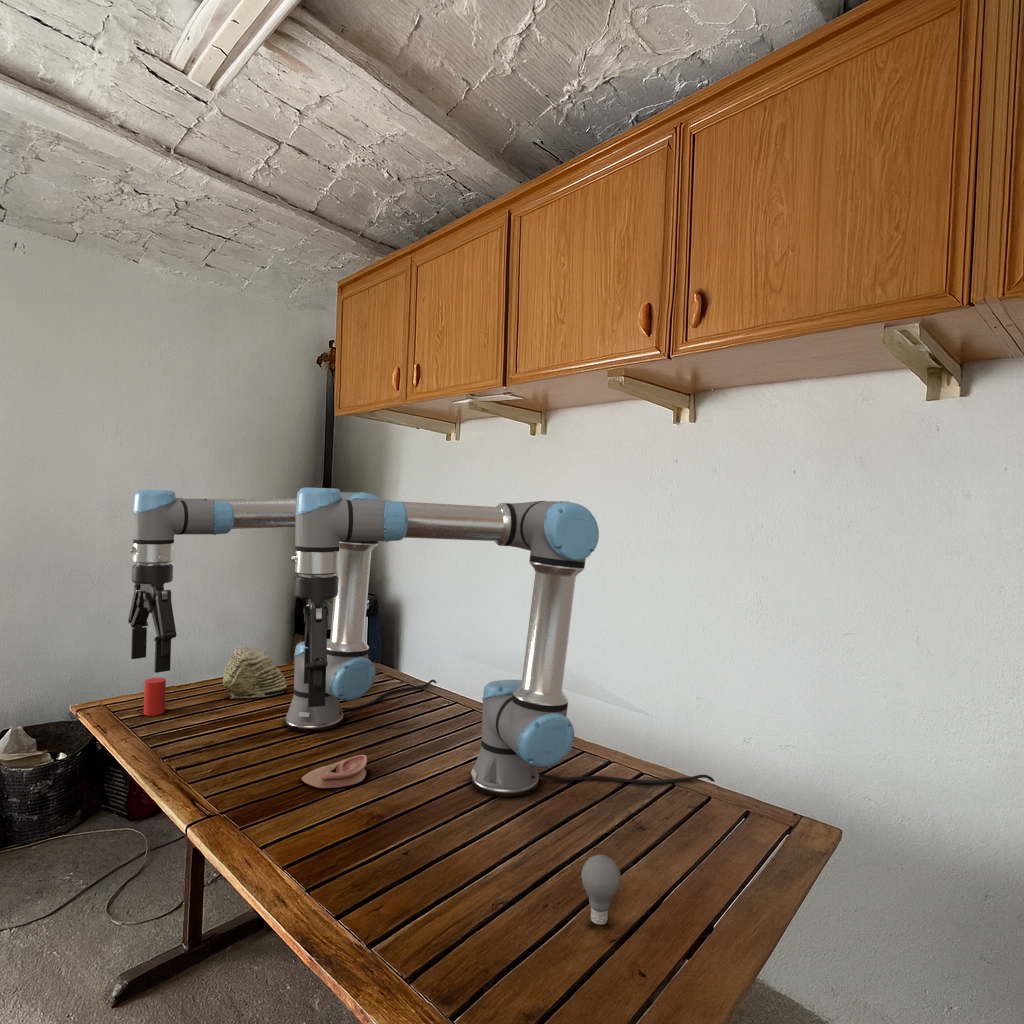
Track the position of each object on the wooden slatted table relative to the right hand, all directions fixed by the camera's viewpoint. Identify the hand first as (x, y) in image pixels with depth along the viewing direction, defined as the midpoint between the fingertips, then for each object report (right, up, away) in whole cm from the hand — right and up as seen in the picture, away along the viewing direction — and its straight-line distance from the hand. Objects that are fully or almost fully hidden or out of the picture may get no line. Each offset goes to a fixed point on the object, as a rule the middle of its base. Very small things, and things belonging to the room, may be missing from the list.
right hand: (313, 693), depth 113 cm
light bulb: (+49, -31, -15) cm, 60 cm away
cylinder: (-66, -24, +66) cm, 97 cm away
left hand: (-41, 0, +20) cm, 45 cm away
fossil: (-45, -25, +86) cm, 100 cm away
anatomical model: (-5, -28, +30) cm, 41 cm away
